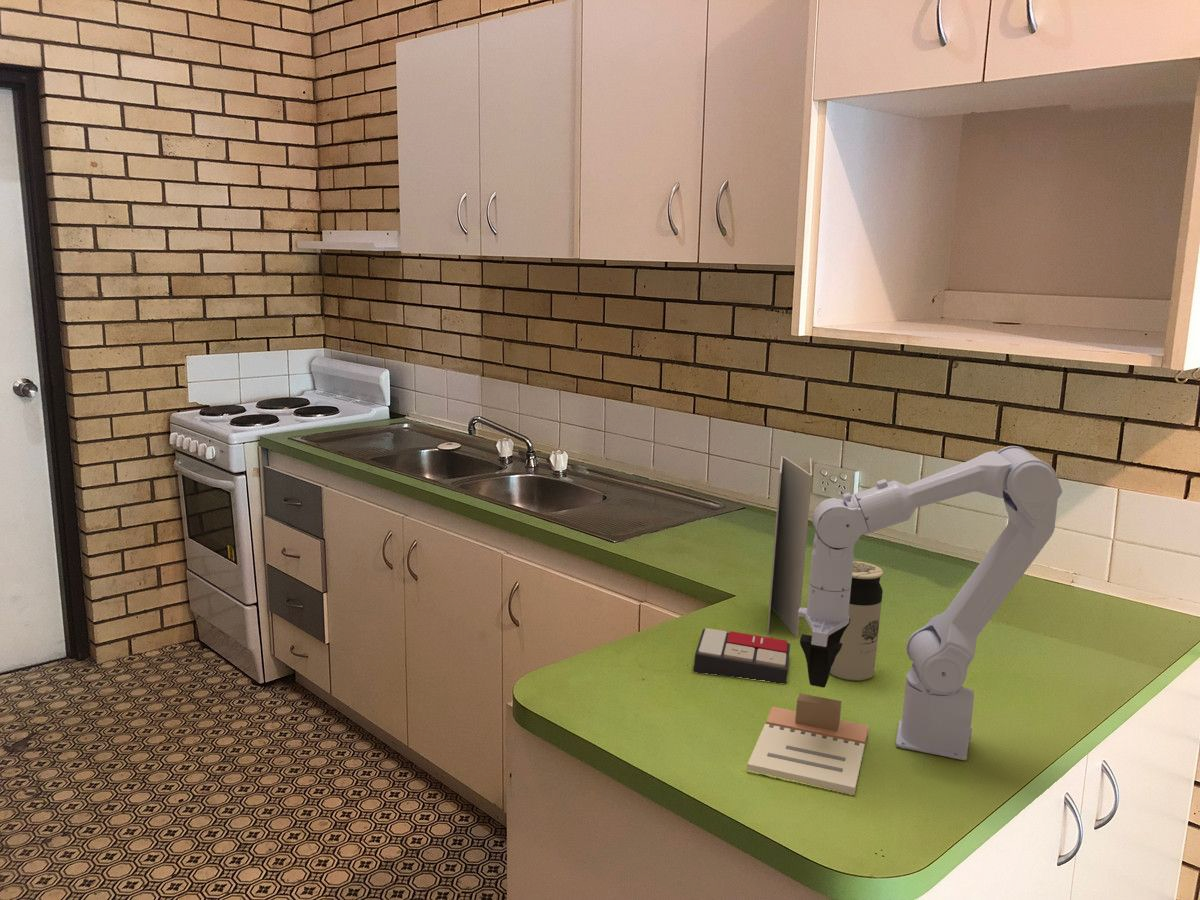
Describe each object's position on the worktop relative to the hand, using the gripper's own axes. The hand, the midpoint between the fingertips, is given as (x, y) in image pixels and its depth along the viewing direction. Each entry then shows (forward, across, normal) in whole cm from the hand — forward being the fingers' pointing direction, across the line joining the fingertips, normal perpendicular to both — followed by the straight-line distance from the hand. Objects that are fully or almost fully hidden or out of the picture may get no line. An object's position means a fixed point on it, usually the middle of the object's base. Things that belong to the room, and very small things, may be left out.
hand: (821, 674), depth 140 cm
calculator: (+10, -18, -15) cm, 25 cm away
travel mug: (+9, -23, +2) cm, 25 cm away
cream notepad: (+9, +9, 0) cm, 13 cm away
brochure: (+9, -40, -12) cm, 43 cm away
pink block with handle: (+9, 0, 0) cm, 9 cm away
